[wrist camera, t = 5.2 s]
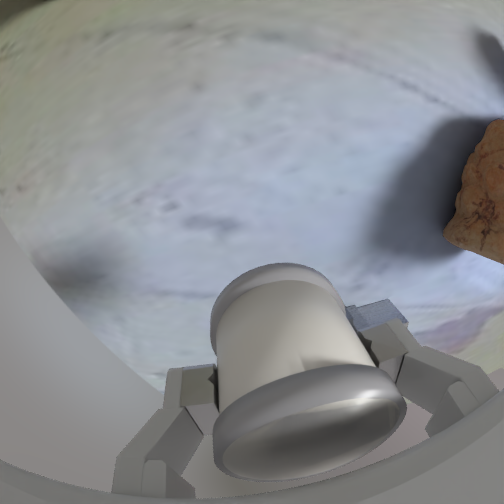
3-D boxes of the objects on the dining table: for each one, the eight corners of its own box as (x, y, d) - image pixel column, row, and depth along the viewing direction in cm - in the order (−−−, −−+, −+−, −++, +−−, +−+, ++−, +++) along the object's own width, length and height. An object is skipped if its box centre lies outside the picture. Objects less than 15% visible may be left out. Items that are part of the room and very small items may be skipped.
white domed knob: (194, 278, 9) (183, 423, 4) (338, 249, 10) (429, 360, 5) (226, 374, 12) (237, 489, 7) (337, 350, 12) (385, 452, 7)
